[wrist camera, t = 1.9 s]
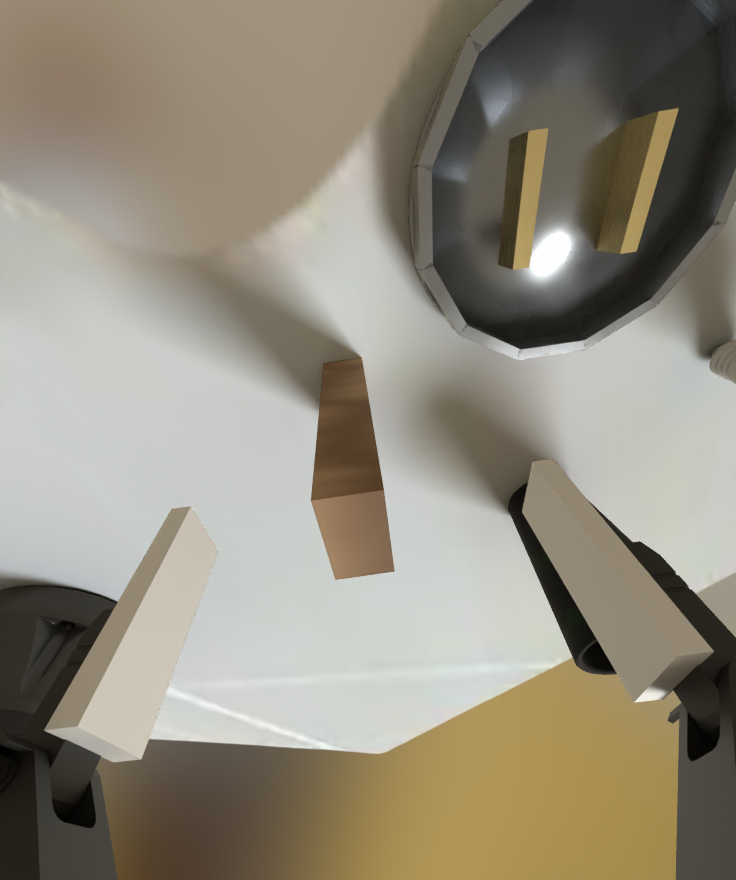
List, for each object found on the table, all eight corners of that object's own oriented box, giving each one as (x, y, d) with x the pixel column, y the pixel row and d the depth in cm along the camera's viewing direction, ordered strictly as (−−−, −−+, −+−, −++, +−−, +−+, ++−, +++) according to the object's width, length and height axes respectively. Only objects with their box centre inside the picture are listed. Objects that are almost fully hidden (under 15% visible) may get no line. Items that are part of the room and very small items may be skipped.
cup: (521, 460, 26) (631, 608, 17) (602, 472, 28) (747, 614, 18) (482, 525, 31) (551, 675, 21) (554, 533, 32) (651, 675, 22)
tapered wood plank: (336, 424, 23) (335, 579, 13) (323, 363, 21) (311, 500, 11) (370, 419, 23) (394, 571, 13) (361, 357, 21) (383, 490, 11)
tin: (414, 361, 21) (423, 378, 19) (397, -15, 13) (410, -62, 10) (650, 327, 21) (685, 340, 19) (794, -77, 12) (889, -137, 10)
